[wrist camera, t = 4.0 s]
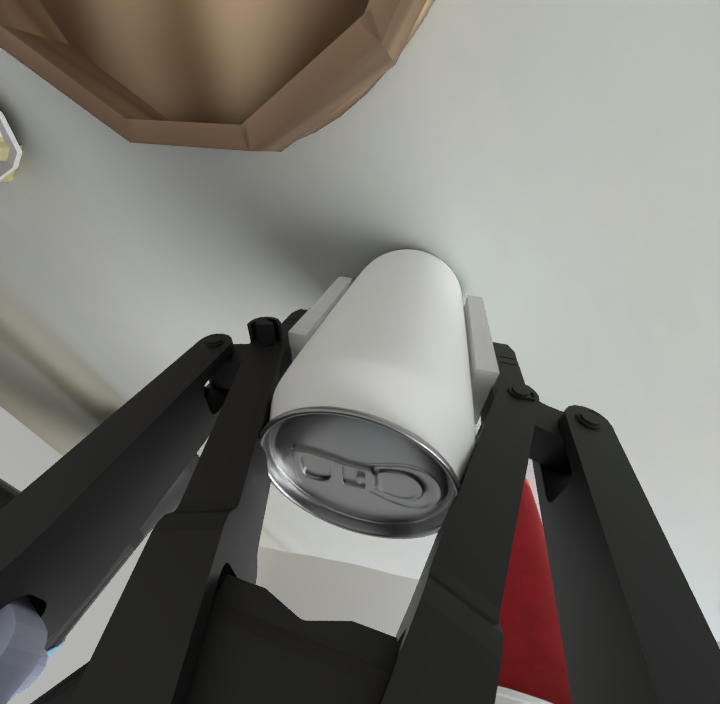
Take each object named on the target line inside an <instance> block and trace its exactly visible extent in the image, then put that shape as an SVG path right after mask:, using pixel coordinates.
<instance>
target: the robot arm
mask: <svg viewBox="0 0 720 704" xmlns="http://www.w3.org/2000/svg"><path fill="white" fill-rule="evenodd" d="M351 285H352V278H348V277H342V276H339V277H338V278H337V279H336V281H335V282H334V283H333V284H332V285H331V286H330V287H329V288H328V289H327V290H326V291H325V292H324V294H323V295H322V296H321V297H320V298H319V299H318V300H317V301H316V302H315V303H314V304H313V305H312V307H311V308H310V309H309V310H303V309H299V310H297V311H295V312H293V313H292V314H291V315H290V316H288V317H287V319H285V320H284V321H283V323H281V322H280V321H279V320H278V319H276V318H274V317H260V318H256V319H254V320H252V321H250V322H249V323H248V324H247V326H248V330H249V335H250V340H251V342H250V344H233V342H232V338H231V337H230V336H229V335H225V334H212V335H209V336H207V337H204V338H203V339H201V340H200V341H198V342H197V343H196V344H195V345H194V346H193V347H191V348H190V349H189V350H188V351H187V352H185V353H184V354H183V355H182V356H181V357H180V358H178V359H177V360H176V361H175V362H174V363H173V364H171V365H170V366H169V367H168V368H167V369H165V370H164V371H163V372H162V373H161V374H160V375H158V376H157V377H156V378H155V379H154V380H153V381H151V382H150V383H149V384H148V385H147V386H145V387H144V388H143V389H142V390H141V391H140V392H138V393H137V394H136V395H135V396H134V397H133V398H131V399H130V400H129V401H128V402H127V403H126V404H124V405H123V406H122V407H121V408H120V409H118V410H117V411H116V412H115V413H114V414H113V415H111V416H110V417H109V418H108V419H107V420H106V421H104V422H103V423H102V424H101V425H100V426H98V427H97V428H96V429H95V430H94V431H93V432H91V433H90V434H89V435H88V436H87V437H86V438H84V439H83V440H82V441H81V442H80V443H79V444H77V445H76V446H75V447H74V448H73V449H71V450H70V451H69V452H68V453H67V454H66V455H64V456H63V457H62V458H61V459H60V460H59V461H57V462H56V463H55V464H54V465H53V466H51V467H50V468H49V469H48V470H47V471H46V472H44V473H43V474H42V475H41V476H40V477H39V478H37V479H36V480H35V481H34V482H33V483H31V484H30V485H29V486H28V487H27V488H26V489H24V490H23V491H22V492H21V491H19V490H18V489H16V488H14V487H13V486H11V485H10V484H8V483H7V482H5V481H3V480H2V479H0V704H7V702H8V701H9V700H10V699H11V698H12V697H14V696H15V695H16V694H18V693H20V692H21V691H23V690H25V689H26V688H28V687H29V686H30V685H31V684H32V683H33V682H34V681H35V680H36V679H37V678H38V677H39V675H40V674H41V672H42V671H43V669H44V667H45V665H46V662H47V659H48V658H49V657H50V656H51V655H52V654H53V653H54V652H55V651H56V650H57V649H58V648H59V647H60V646H61V645H62V644H63V642H64V641H65V638H66V636H67V635H68V634H69V632H70V631H71V630H72V629H73V627H74V626H75V625H76V624H77V622H78V621H79V620H80V618H81V617H82V616H83V615H84V613H85V612H86V611H87V610H88V608H89V607H90V606H91V605H92V603H93V602H94V601H95V599H96V598H97V597H98V596H99V594H100V593H101V592H102V591H103V590H104V588H105V587H106V586H107V584H108V583H109V582H110V580H111V579H112V578H113V577H114V576H115V574H116V573H117V572H118V570H119V569H120V568H121V567H122V566H123V564H124V563H125V562H126V561H127V559H128V558H129V557H130V556H131V554H132V553H133V551H134V550H135V549H136V548H137V547H138V546H139V544H140V543H141V542H142V541H143V539H144V538H145V537H146V536H147V534H148V533H149V532H150V531H151V530H152V529H153V528H154V529H153V531H152V532H151V535H150V537H149V539H148V541H147V543H146V545H145V547H144V549H143V551H142V553H141V556H140V557H139V560H138V562H137V564H136V566H135V568H134V570H133V572H132V574H131V576H130V579H129V580H128V583H127V585H126V587H125V589H124V591H123V593H122V595H121V597H120V599H119V601H118V603H117V606H116V607H115V610H114V612H113V614H112V616H111V618H110V620H109V622H108V624H107V626H106V628H105V630H104V633H103V635H102V637H101V639H100V641H99V643H98V645H97V647H96V649H95V652H94V654H93V655H92V658H91V660H90V661H89V662H88V663H86V664H85V665H83V666H82V667H81V668H79V669H78V670H76V671H75V672H74V673H72V674H71V675H70V676H68V677H67V678H65V679H64V680H63V681H61V682H60V683H59V684H57V685H56V686H54V687H53V688H52V689H50V690H49V691H47V692H46V693H45V694H43V695H42V696H40V697H39V698H38V699H36V700H35V701H34V702H32V703H31V704H495V699H496V693H497V687H498V681H499V675H500V669H501V663H502V655H503V646H504V642H503V632H502V629H501V626H500V620H499V617H500V610H501V604H502V599H503V594H504V588H505V583H506V578H507V572H508V567H509V561H510V556H511V551H512V545H513V540H514V535H515V529H516V524H517V518H518V513H519V508H520V502H521V497H522V492H523V486H524V481H525V476H526V470H527V465H528V459H529V458H530V459H532V462H533V468H534V474H535V480H536V486H537V492H538V498H539V504H540V510H541V517H542V523H543V529H544V535H545V541H546V547H547V553H548V559H549V565H550V571H551V578H552V584H553V590H554V596H555V602H556V608H557V614H558V620H559V626H560V632H561V639H562V645H563V651H564V657H565V663H566V669H567V675H568V681H569V687H570V693H571V700H572V704H720V649H719V647H718V645H717V643H716V640H715V638H714V636H713V634H712V632H711V630H710V628H709V626H708V624H707V622H706V620H705V618H704V616H703V613H702V611H701V609H700V607H699V605H698V603H697V601H696V599H695V597H694V595H693V593H692V591H691V589H690V587H689V585H688V582H687V580H686V578H685V576H684V574H683V572H682V570H681V568H680V566H679V564H678V562H677V560H676V558H675V556H674V554H673V551H672V549H671V547H670V545H669V543H668V541H667V539H666V537H665V535H664V533H663V531H662V529H661V527H660V525H659V522H658V520H657V518H656V516H655V514H654V512H653V510H652V508H651V506H650V504H649V502H648V500H647V498H646V496H645V494H644V491H643V489H642V487H641V485H640V483H639V481H638V479H637V477H636V475H635V473H634V471H633V469H632V467H631V465H630V462H629V460H628V458H627V456H626V454H625V452H624V450H623V448H622V446H621V444H620V442H619V440H618V438H617V436H616V434H615V431H614V429H613V427H612V426H611V424H610V423H609V422H608V420H607V419H605V418H604V417H603V416H602V415H600V414H599V413H597V412H595V411H594V410H592V409H589V408H586V407H583V406H577V405H573V406H569V407H568V408H567V409H566V410H565V411H564V412H562V411H559V410H557V409H554V408H552V407H549V406H547V405H545V404H543V403H541V402H539V396H538V394H537V393H536V392H535V391H534V390H533V389H532V388H531V387H529V386H527V385H525V383H524V380H523V377H522V374H521V370H520V367H519V364H518V361H517V358H516V355H515V352H514V351H513V350H512V349H511V348H510V347H509V346H508V345H506V344H500V343H494V342H492V338H491V334H490V330H489V325H488V321H487V317H486V312H485V308H484V304H483V299H482V297H475V296H468V295H467V299H466V302H465V305H464V317H465V326H466V336H467V346H468V356H469V366H470V377H471V387H472V398H473V409H474V421H475V424H477V422H478V420H479V417H480V415H481V426H480V428H479V431H478V433H477V435H476V437H475V449H474V452H473V454H472V457H471V459H470V462H469V464H468V466H467V469H466V471H465V474H464V476H463V478H462V481H461V483H460V485H461V488H460V490H459V492H458V494H457V496H456V497H455V498H454V500H453V502H452V504H451V506H450V508H449V510H448V512H447V515H446V517H445V519H444V521H443V523H442V526H441V528H440V530H439V532H438V534H437V536H436V539H435V542H434V544H433V547H432V549H431V552H430V554H429V557H428V559H427V562H426V564H425V567H424V569H423V572H422V574H421V577H420V579H419V583H418V585H417V587H416V590H415V592H414V595H413V597H412V600H411V602H410V605H409V607H408V610H407V612H406V614H405V616H404V619H403V621H402V623H401V626H400V628H399V630H398V633H397V635H396V638H395V637H393V636H390V635H387V634H385V633H382V632H380V631H377V630H374V629H372V628H369V627H366V626H364V625H361V624H358V623H356V622H353V621H305V620H302V619H300V618H299V617H297V616H296V615H295V614H294V613H293V612H292V611H291V610H289V609H288V608H287V607H286V606H285V605H284V604H283V603H282V602H280V601H279V600H278V599H277V598H276V597H275V596H274V595H272V594H271V593H270V592H269V591H268V590H267V589H265V588H263V587H260V586H258V585H255V584H256V577H257V552H258V545H259V540H260V535H261V530H262V525H263V519H264V514H265V509H266V504H267V499H268V494H269V488H270V483H271V481H270V480H269V475H268V466H267V457H266V453H265V451H264V449H263V448H262V446H261V444H260V440H259V435H260V433H261V431H262V429H263V428H264V427H265V425H266V424H267V423H268V422H269V421H270V409H271V402H272V398H273V394H274V391H275V389H276V387H277V385H278V383H279V381H280V380H281V378H282V376H283V375H284V374H285V372H286V371H287V369H288V368H289V366H290V365H291V364H292V362H293V361H294V360H295V358H296V357H297V356H298V354H299V353H300V352H301V350H302V349H303V348H304V346H305V345H306V344H307V342H308V341H309V340H310V338H311V337H312V336H313V334H314V333H315V332H316V330H317V329H318V328H319V326H320V325H321V324H322V322H323V321H324V320H325V318H326V317H327V316H328V315H329V313H330V312H331V311H332V309H333V308H334V307H335V305H336V304H337V303H338V301H339V300H340V299H341V298H342V296H343V295H344V294H345V292H346V291H347V290H348V289H349V287H350V286H351ZM208 380H209V382H210V383H209V384H208V385H207V386H206V387H205V384H206V382H207V381H208ZM209 435H210V436H209ZM208 437H209V438H208ZM207 438H208V440H207V443H206V445H205V447H204V449H203V452H202V454H201V456H200V459H199V458H198V457H197V455H196V453H197V451H198V450H199V449H200V447H201V446H202V445H203V443H204V442H205V441H206V439H207Z"/></svg>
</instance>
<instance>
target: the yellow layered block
mask: <svg viewBox="0 0 720 704" xmlns="http://www.w3.org/2000/svg"><path fill="white" fill-rule="evenodd" d="M21 149H22V145H19V144H18V142H17V140H16V138H15V136H14V134H13V132H12V130H11V128H10V126H9V124H8V122H7V120H6V118H5V116H4V115H3V113H2V112H1V111H0V182H4V181H12V179H13V176H14V173H15V169H17V168H18V166H19V162H20V159H21V156H22V150H21Z"/></svg>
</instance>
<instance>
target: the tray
mask: <svg viewBox="0 0 720 704" xmlns="http://www.w3.org/2000/svg"><path fill="white" fill-rule="evenodd" d="M434 1H435V0H0V47H1V48H2V49H3V50H5V51H6V52H8V53H9V54H10V55H12V56H13V57H14V58H16V59H17V60H18V61H20V62H21V63H23V64H24V65H25V66H27V67H28V68H29V69H31V70H32V71H34V72H35V73H36V74H38V75H39V76H40V77H42V78H43V79H44V80H46V81H47V82H49V83H50V84H51V85H53V86H54V87H55V88H57V89H58V90H59V91H61V92H62V93H64V94H65V95H66V96H68V97H69V98H70V99H72V100H73V101H74V102H76V103H77V104H79V105H80V106H81V107H83V108H84V109H85V110H87V111H88V112H89V113H91V114H92V115H94V116H95V117H96V118H98V119H99V120H100V121H102V122H103V123H104V124H106V125H107V126H109V127H110V128H111V129H113V130H114V131H115V132H117V133H118V134H120V135H121V136H122V137H124V138H125V139H126V140H128V141H129V142H133V143H147V144H161V145H175V146H189V147H204V148H218V149H232V150H246V151H276V152H281V151H283V150H284V149H285V148H287V147H288V146H289V145H290V144H292V143H293V142H294V141H296V140H298V139H300V138H302V137H305V136H307V135H310V134H312V133H314V132H316V131H318V130H319V129H321V128H323V127H324V126H326V125H327V124H329V123H331V122H332V121H334V120H335V119H337V118H338V117H340V116H341V115H343V114H344V113H345V112H346V111H347V110H348V109H349V108H351V107H352V106H353V105H354V104H355V103H356V102H358V101H359V100H360V99H361V98H362V97H363V96H364V95H366V94H367V93H368V92H369V90H370V89H371V88H372V87H373V86H374V85H375V84H376V83H377V81H378V80H379V79H380V78H381V77H382V76H383V75H384V73H385V72H386V71H387V70H389V69H390V68H391V67H393V66H394V65H395V64H396V62H397V60H398V58H399V56H400V54H401V52H402V51H403V49H404V48H405V46H406V45H407V43H408V42H409V41H410V39H411V38H412V36H413V35H414V33H415V32H416V31H417V29H418V28H419V26H420V25H421V23H422V22H423V20H424V18H425V17H426V15H427V13H428V11H429V9H430V8H431V6H432V4H433V2H434Z"/></svg>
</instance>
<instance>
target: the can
mask: <svg viewBox="0 0 720 704" xmlns="http://www.w3.org/2000/svg"><path fill="white" fill-rule="evenodd" d="M259 440H260V444H261V446H262V448H263V449H264V451H265V453H266V457H267V466H268V475H269V480H270V481H271V482H272V484H273V485H274V486H275V487H276V488H277V489H278V490H279V491H280V492H281V493H282V494H283V495H284V496H286V497H287V498H288V499H289V500H290V501H292V502H293V503H294V504H296V505H297V506H299V507H300V508H302V509H303V510H305V511H306V512H308V513H310V514H312V515H313V516H315V517H317V518H319V519H321V520H323V521H325V522H328V523H330V524H332V525H335V526H337V527H340V528H343V529H346V530H349V531H352V532H356V533H360V534H364V535H368V536H373V537H380V538H389V539H412V538H420V537H425V536H429V535H432V534H435V533H438V532H439V530H440V528H441V526H442V523H443V521H444V519H445V517H446V515H447V512H448V510H449V508H450V506H451V504H452V502H453V500H454V498H455V497H456V496H457V494H458V492H459V490H460V488H461V485H460V483H461V481H462V478H463V476H464V474H465V471H466V469H467V466H468V464H469V462H470V459H471V457H472V454H473V452H474V449H475V421H474V409H473V398H472V387H471V377H470V366H469V356H468V346H467V336H466V326H465V317H464V308H463V299H462V293H461V288H460V285H459V282H458V280H457V278H456V276H455V275H454V273H453V272H452V270H451V269H450V268H449V267H448V266H447V265H446V264H445V263H444V262H443V261H441V260H440V259H438V258H437V257H435V256H433V255H431V254H429V253H426V252H423V251H418V250H411V249H403V250H395V251H391V252H388V253H385V254H383V255H381V256H379V257H377V258H376V259H374V260H373V261H372V262H371V263H369V264H368V265H367V266H366V267H365V268H364V270H363V271H362V272H361V273H360V274H359V276H358V277H357V278H356V279H355V281H354V282H353V283H352V285H351V286H350V287H349V289H348V290H347V291H346V292H345V294H344V295H343V296H342V298H341V299H340V300H339V301H338V303H337V304H336V305H335V307H334V308H333V309H332V311H331V312H330V313H329V315H328V316H327V317H326V318H325V320H324V321H323V322H322V324H321V325H320V326H319V328H318V329H317V330H316V332H315V333H314V334H313V336H312V337H311V338H310V340H309V341H308V342H307V344H306V345H305V346H304V348H303V349H302V350H301V352H300V353H299V354H298V356H297V357H296V358H295V360H294V361H293V362H292V364H291V365H290V366H289V368H288V369H287V371H286V372H285V374H284V375H283V376H282V378H281V380H280V381H279V383H278V385H277V387H276V389H275V391H274V394H273V398H272V402H271V409H270V421H269V422H268V423H267V424H266V425H265V427H264V428H263V429H262V431H261V433H260V435H259Z"/></svg>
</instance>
